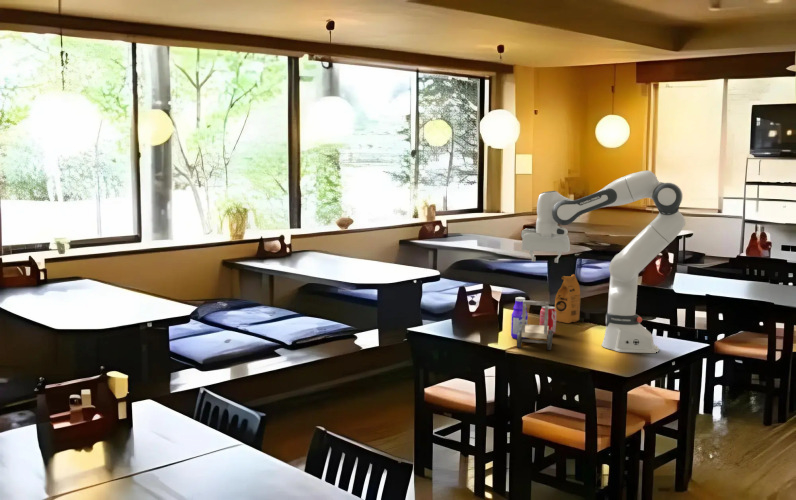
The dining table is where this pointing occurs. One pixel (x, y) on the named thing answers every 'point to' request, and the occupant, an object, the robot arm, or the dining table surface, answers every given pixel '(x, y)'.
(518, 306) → the bottle
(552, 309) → the soda can
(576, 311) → the coffee package
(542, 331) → the trolley
